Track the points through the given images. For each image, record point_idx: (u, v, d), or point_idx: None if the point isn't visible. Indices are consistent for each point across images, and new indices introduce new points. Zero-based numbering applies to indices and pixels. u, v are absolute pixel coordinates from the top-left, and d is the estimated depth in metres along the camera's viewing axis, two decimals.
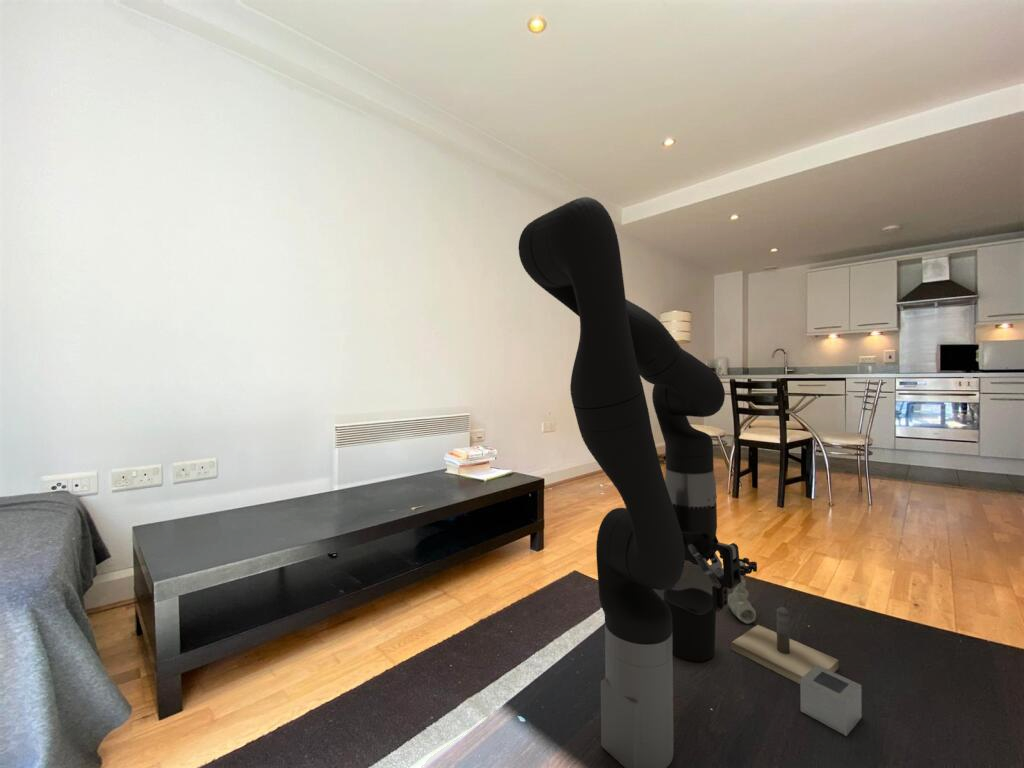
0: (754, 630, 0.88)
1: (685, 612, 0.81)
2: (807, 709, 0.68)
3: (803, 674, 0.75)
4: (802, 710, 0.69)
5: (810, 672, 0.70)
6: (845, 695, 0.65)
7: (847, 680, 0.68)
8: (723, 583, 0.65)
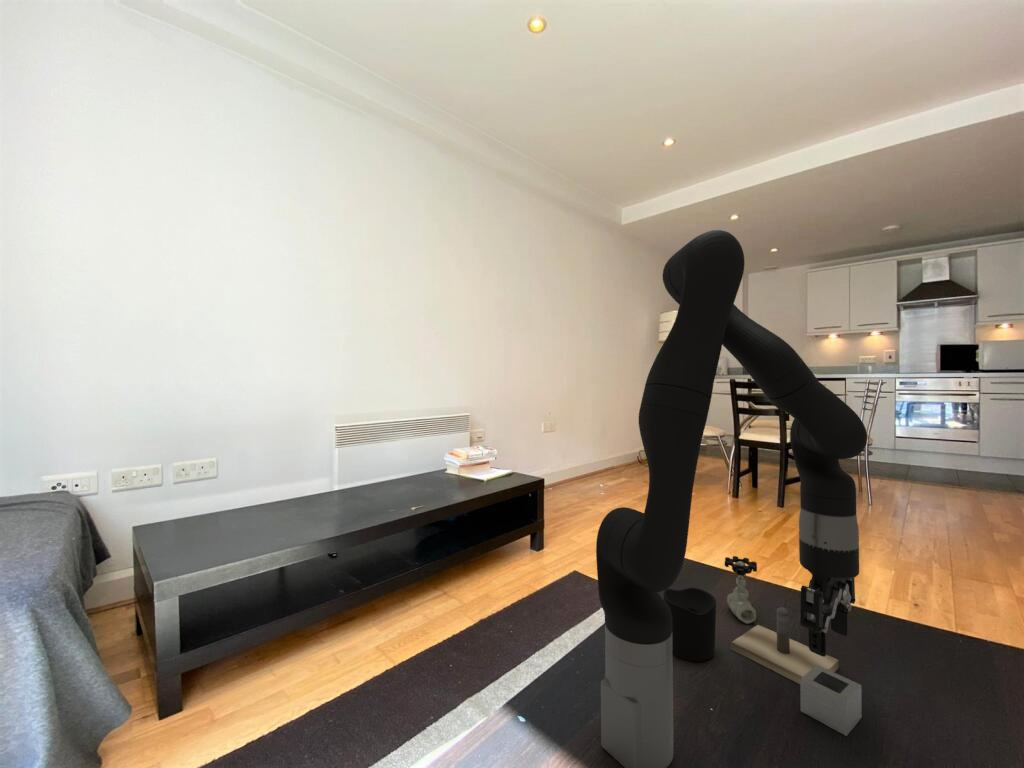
0: (754, 630, 0.88)
1: (685, 612, 0.81)
2: (807, 709, 0.68)
3: (803, 674, 0.75)
4: (802, 710, 0.69)
5: (810, 672, 0.70)
6: (845, 695, 0.65)
7: (847, 680, 0.68)
8: None
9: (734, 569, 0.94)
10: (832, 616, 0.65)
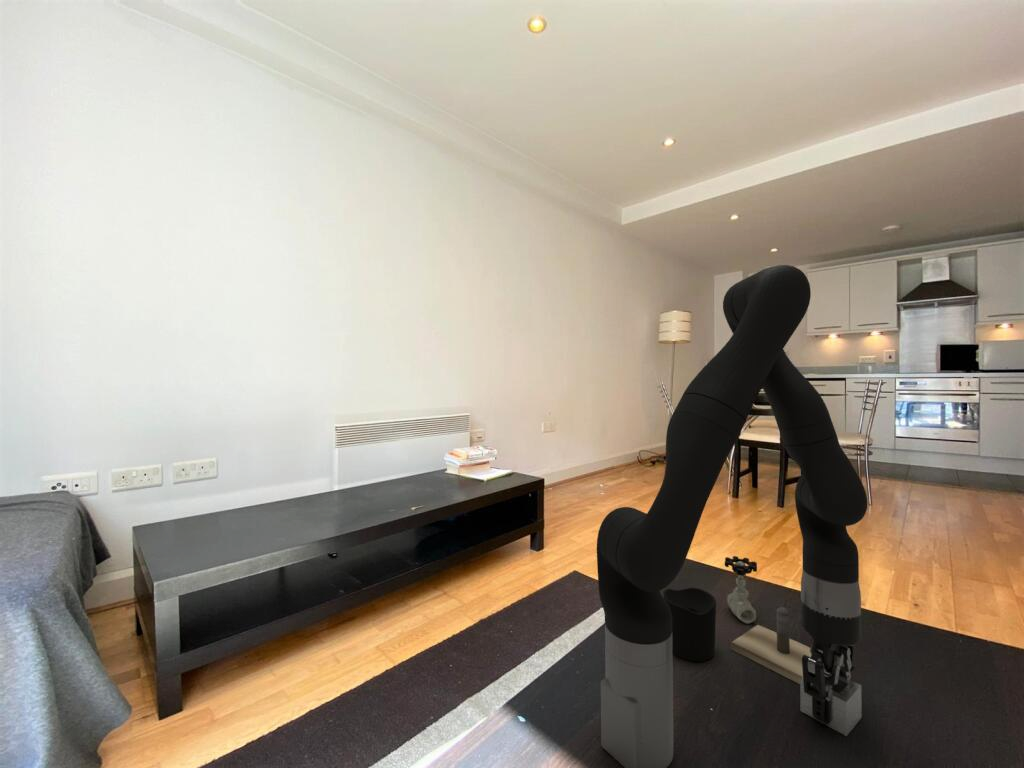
0: (754, 630, 0.88)
1: (685, 612, 0.81)
2: (807, 709, 0.68)
3: None
4: (802, 710, 0.69)
5: None
6: (845, 695, 0.65)
7: (847, 680, 0.68)
8: None
9: (734, 569, 0.94)
10: (835, 684, 0.65)
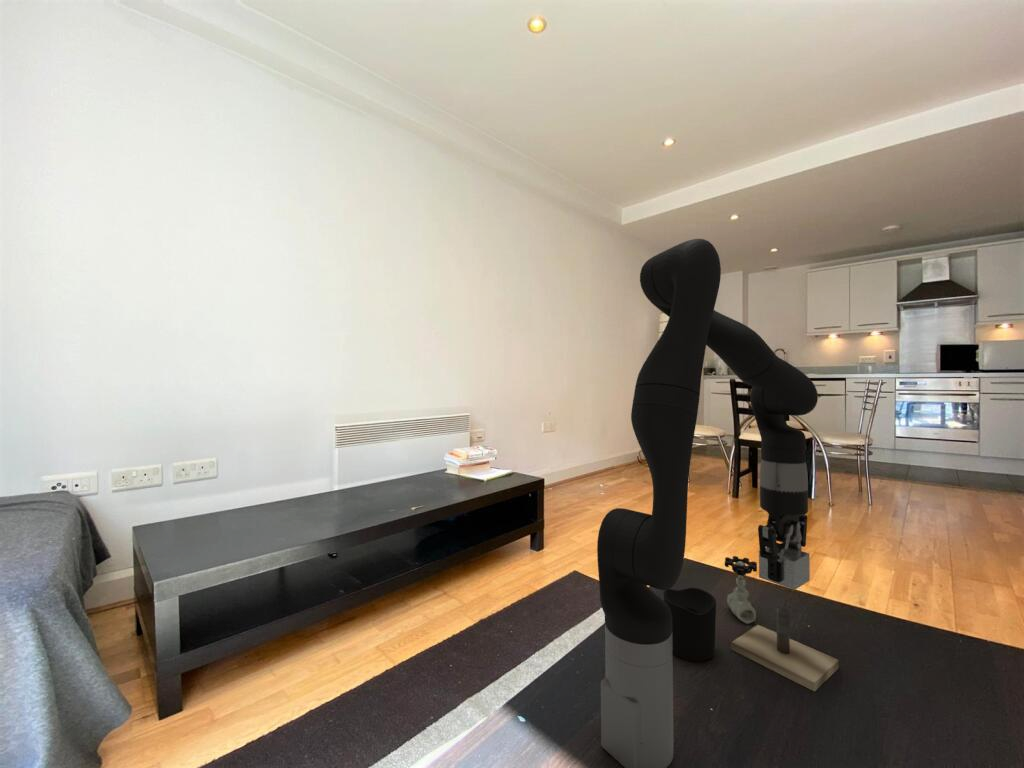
0: (754, 630, 0.88)
1: (685, 612, 0.81)
2: (764, 574, 0.81)
3: (803, 674, 0.75)
4: (760, 576, 0.82)
5: None
6: (794, 558, 0.78)
7: (798, 551, 0.81)
8: None
9: (734, 569, 0.94)
10: (785, 548, 0.78)
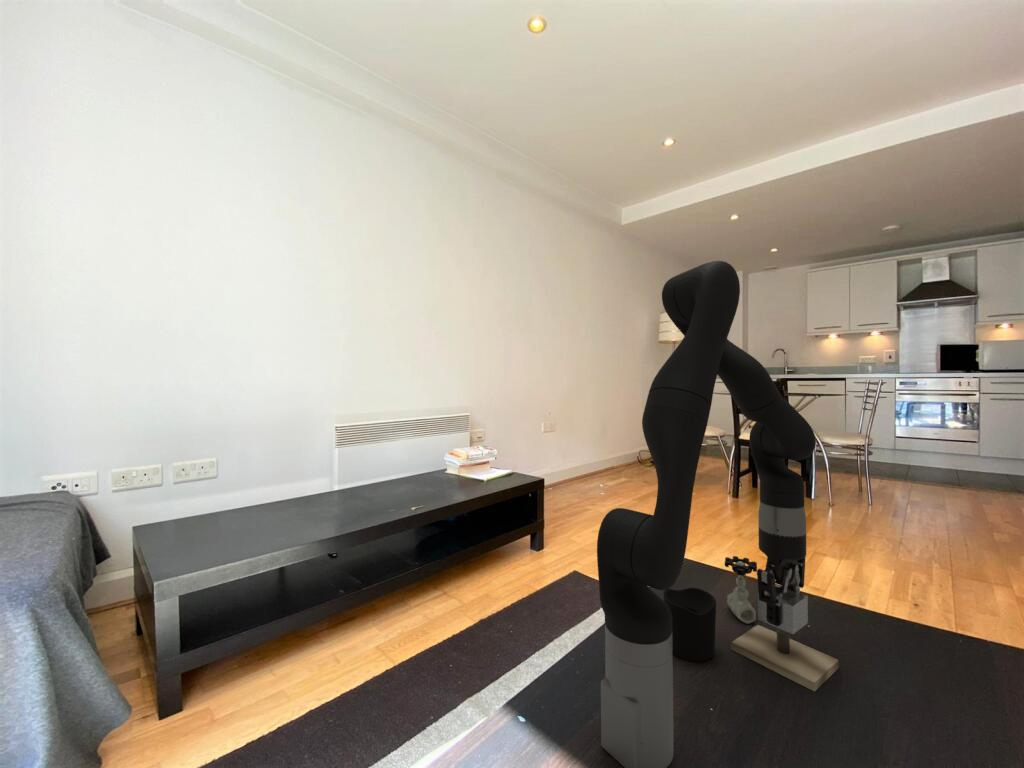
0: (754, 630, 0.88)
1: (685, 612, 0.81)
2: (763, 617, 0.81)
3: (803, 674, 0.75)
4: (759, 618, 0.82)
5: None
6: (793, 602, 0.79)
7: (796, 593, 0.82)
8: None
9: (734, 569, 0.94)
10: (784, 592, 0.79)
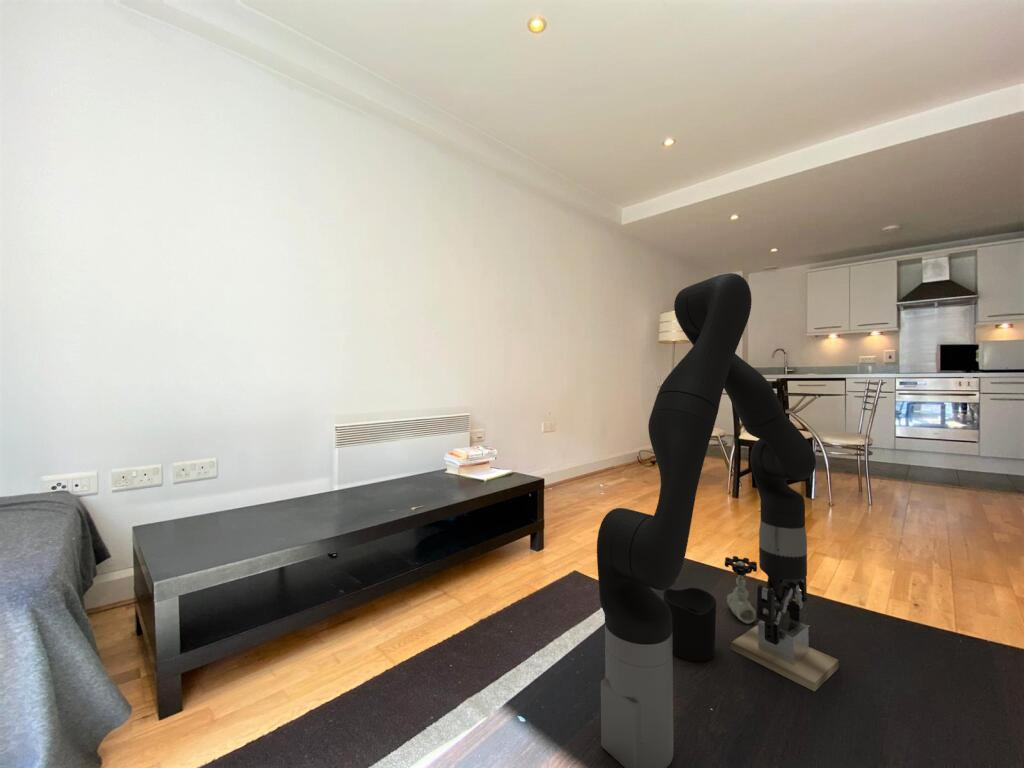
0: (754, 630, 0.88)
1: (685, 612, 0.81)
2: (763, 646, 0.82)
3: (803, 674, 0.75)
4: (759, 648, 0.82)
5: None
6: (793, 632, 0.79)
7: (797, 622, 0.82)
8: None
9: (734, 569, 0.94)
10: (783, 611, 0.78)
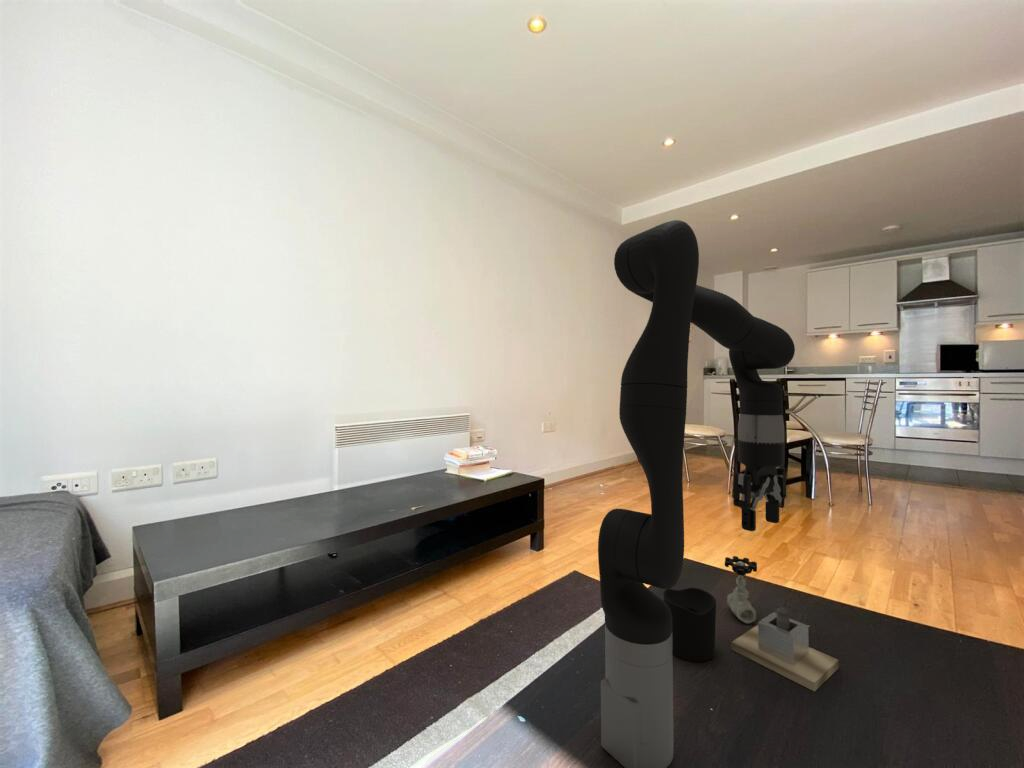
0: (754, 630, 0.88)
1: (685, 612, 0.81)
2: (763, 646, 0.82)
3: (803, 674, 0.75)
4: (759, 648, 0.82)
5: (767, 617, 0.84)
6: (793, 632, 0.79)
7: (797, 622, 0.82)
8: None
9: (734, 569, 0.94)
10: (759, 498, 0.79)
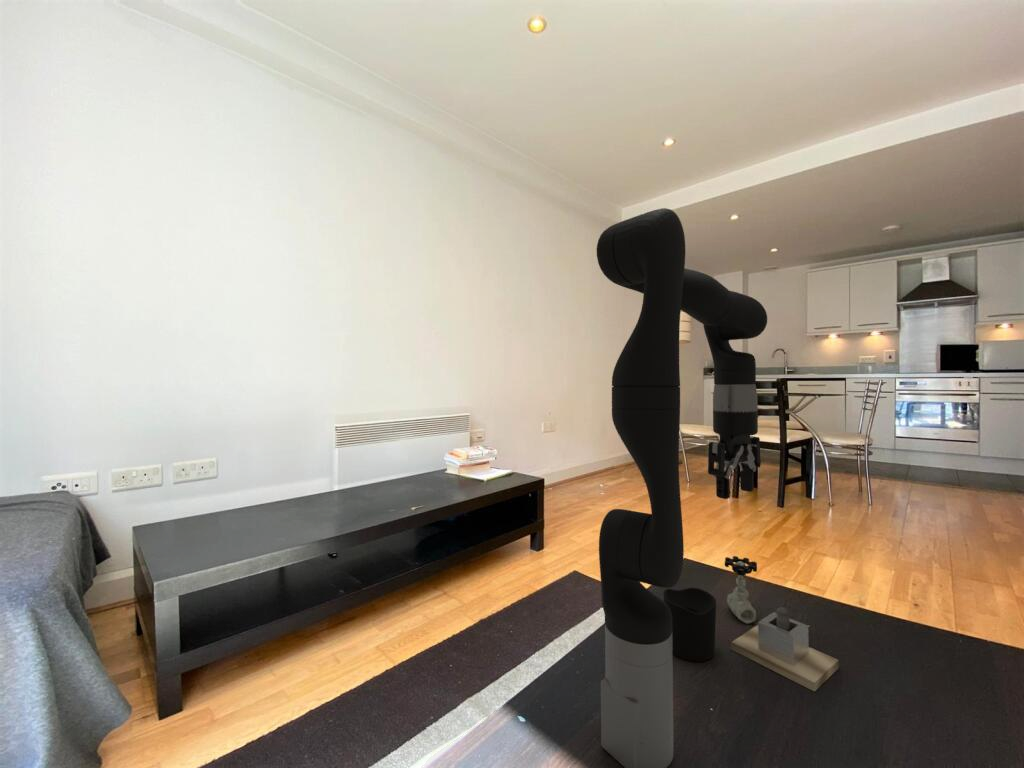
0: (754, 630, 0.88)
1: (685, 612, 0.81)
2: (763, 646, 0.82)
3: (803, 674, 0.75)
4: (759, 648, 0.82)
5: (767, 617, 0.84)
6: (793, 632, 0.79)
7: (797, 622, 0.82)
8: None
9: (734, 569, 0.94)
10: (733, 466, 0.80)
